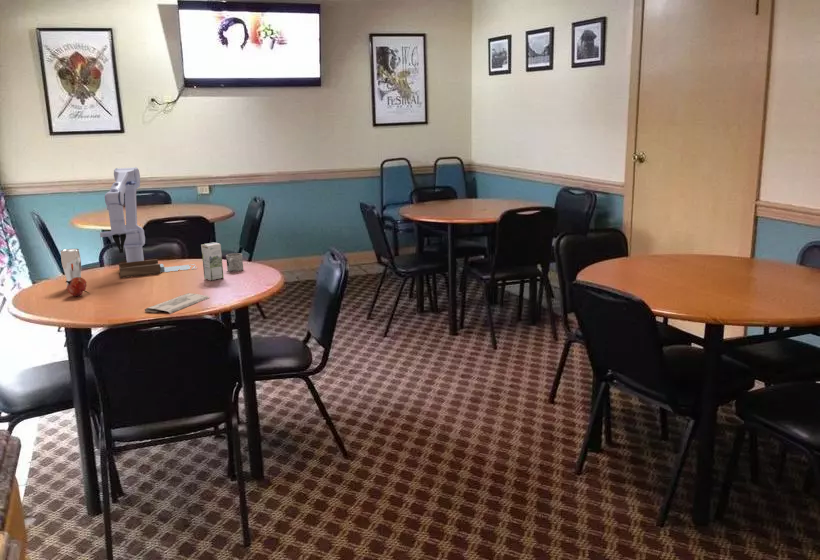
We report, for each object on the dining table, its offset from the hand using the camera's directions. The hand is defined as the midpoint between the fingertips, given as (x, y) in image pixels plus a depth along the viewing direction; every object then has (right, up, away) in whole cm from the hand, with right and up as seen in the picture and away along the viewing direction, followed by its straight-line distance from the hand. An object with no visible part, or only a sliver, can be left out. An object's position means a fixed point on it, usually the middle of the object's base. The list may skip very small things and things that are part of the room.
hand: (121, 252), depth 300 cm
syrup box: (+42, -11, -12) cm, 45 cm away
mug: (+47, -8, +3) cm, 48 cm away
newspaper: (+40, -21, -51) cm, 68 cm away
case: (+5, -9, +6) cm, 12 cm away
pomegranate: (-3, -18, -31) cm, 36 cm away
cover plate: (+20, -7, +12) cm, 25 cm away
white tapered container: (-12, -15, -16) cm, 25 cm away
